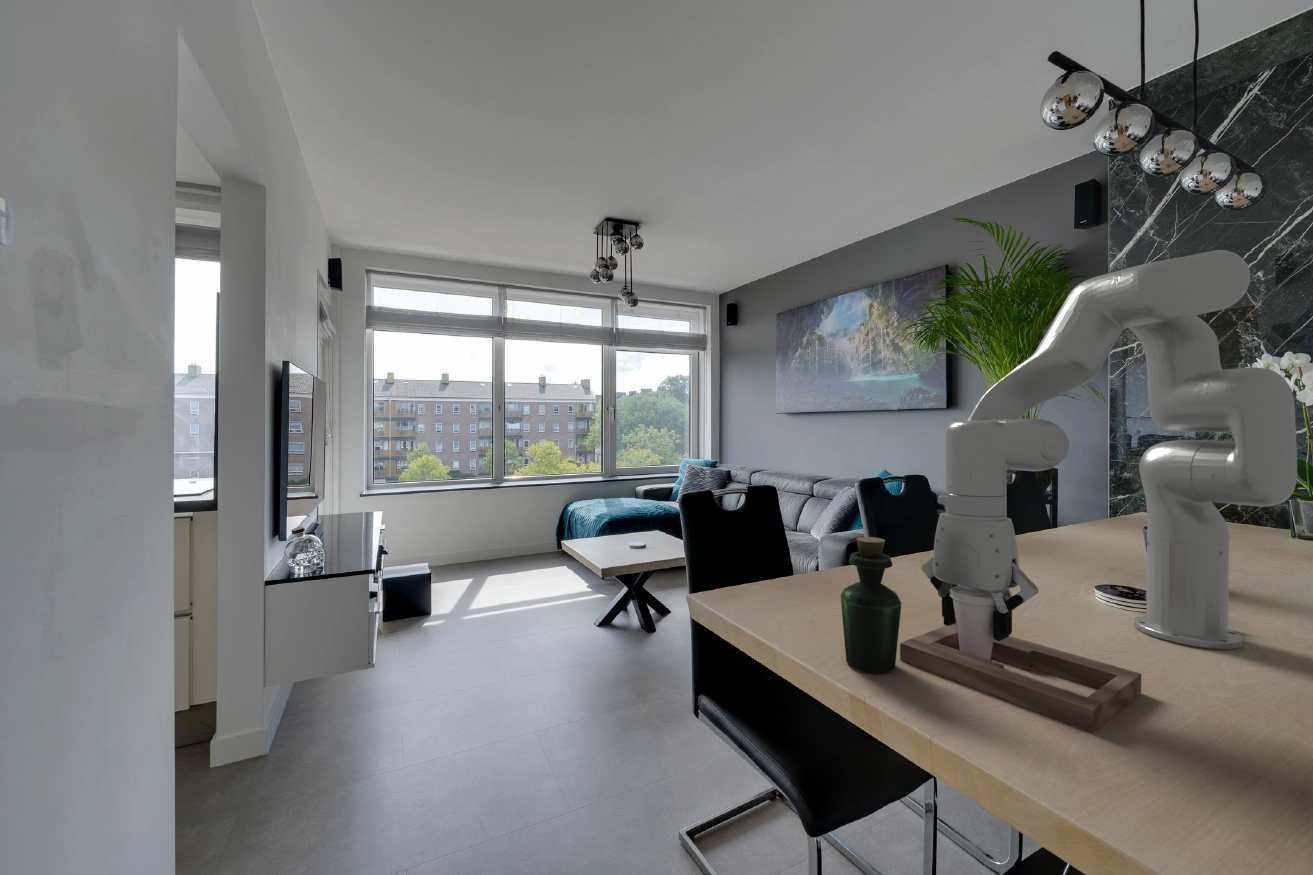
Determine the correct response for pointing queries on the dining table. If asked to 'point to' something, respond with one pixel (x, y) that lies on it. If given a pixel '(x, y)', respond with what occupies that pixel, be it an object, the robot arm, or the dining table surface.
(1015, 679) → the keyhole board
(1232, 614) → the dining table surface
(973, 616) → the smoothie
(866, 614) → the potion bottle
